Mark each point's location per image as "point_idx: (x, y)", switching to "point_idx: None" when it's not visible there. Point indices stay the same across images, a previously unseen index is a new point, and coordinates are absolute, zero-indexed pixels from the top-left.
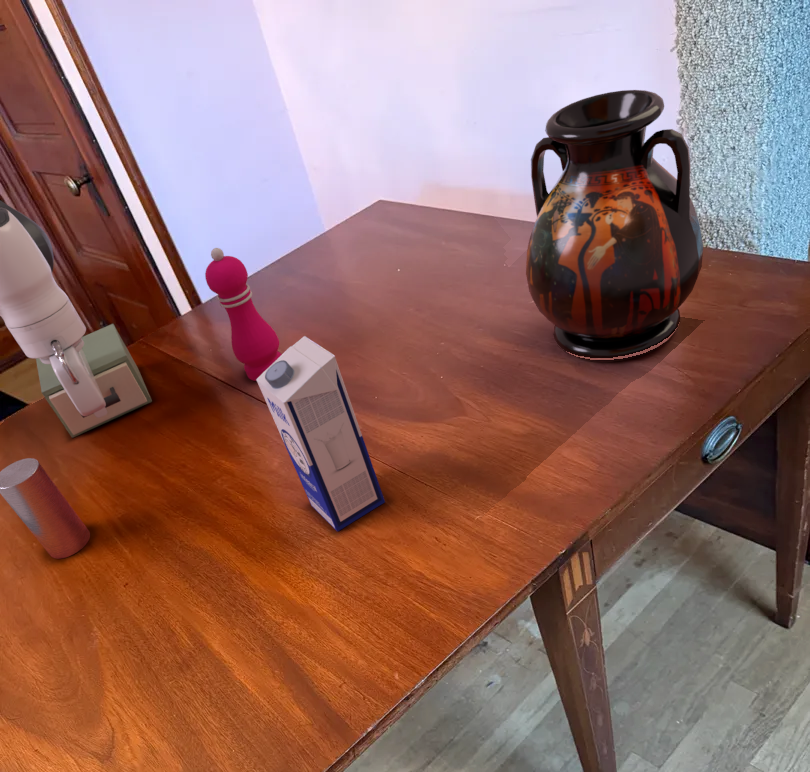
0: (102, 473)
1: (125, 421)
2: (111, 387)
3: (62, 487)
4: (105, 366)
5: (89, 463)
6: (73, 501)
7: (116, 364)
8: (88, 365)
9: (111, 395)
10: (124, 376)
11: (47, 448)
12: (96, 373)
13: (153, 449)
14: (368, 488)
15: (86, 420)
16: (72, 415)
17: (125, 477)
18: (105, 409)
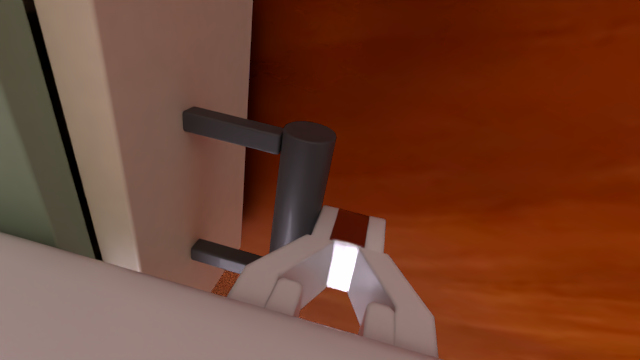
0: (508, 269)
1: (282, 103)
2: (185, 121)
3: (437, 335)
4: (28, 115)
5: (407, 265)
6: (536, 349)
7: (25, 21)
8: (75, 324)
9: (305, 169)
10: (155, 19)
11: (221, 283)
12: (71, 181)
13: (613, 112)
14: None
15: (231, 219)
16: (213, 266)
17: (634, 246)
18: (383, 230)
